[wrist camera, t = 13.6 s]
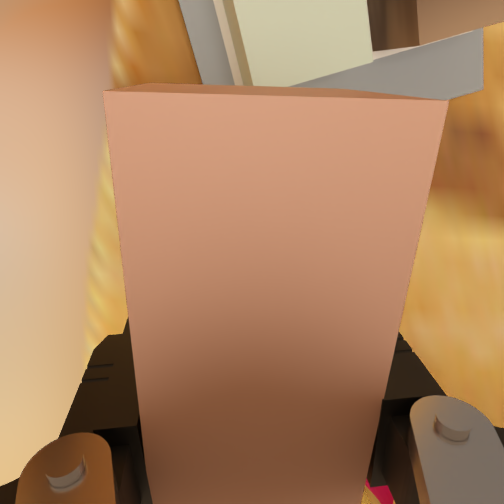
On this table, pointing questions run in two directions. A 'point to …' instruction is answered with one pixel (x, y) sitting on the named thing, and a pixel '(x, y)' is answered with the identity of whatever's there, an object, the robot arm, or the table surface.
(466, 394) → the table surface
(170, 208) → the lintel
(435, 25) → the walnut cube
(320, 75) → the sage cube
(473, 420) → the robot arm
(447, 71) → the board
